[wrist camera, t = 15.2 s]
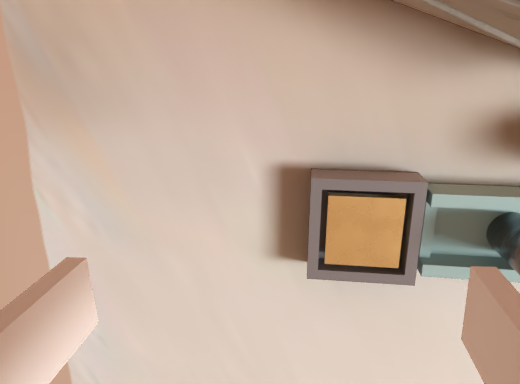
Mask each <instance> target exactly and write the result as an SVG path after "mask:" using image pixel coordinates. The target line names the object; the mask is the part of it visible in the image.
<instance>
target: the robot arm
mask: <svg viewBox="0 0 520 384" xmlns="http://www.w3.org/2000/svg"><path fill="white" fill-rule="evenodd" d="M98 323H99V322H98V317H97V312H96V307H95V301H94V296H93V291H92V285H91V280H90V275H89V270H88V264H87V259H86V258H69V257H67V258H65V259H64V260H63V261H62V262H60V263H59V264H58V265H57V266H55V267H54V268H53V269H52V270H50V271H49V272H48V273H47V274H45V275H44V276H43V277H42V278H40V279H39V280H38V281H37V282H36V283H34V284H33V285H32V286H31V287H29V288H28V289H27V290H25V291H24V292H23V293H22V294H21V295H19V296H18V297H17V298H16V299H14V300H13V301H12V302H10V303H9V304H8V305H7V306H5V307H4V308H3V309H2V310H0V384H49V383H50V382H51V381H52V379H53V378H54V377H55V376H56V374H57V373H58V372H59V371H60V370H61V368H62V367H63V366H64V364H65V363H66V362H67V361H68V360H69V359H70V357H71V356H72V355H73V354H74V352H75V351H76V350H77V349H78V348H79V346H80V345H81V344H82V343H83V341H84V340H85V339H86V338H87V337H88V335H89V334H90V333H91V332H92V330H93V329H94V328H95V327H96V326H97V324H98ZM461 339H462V341H463V343H464V345H465V347H466V349H467V351H468V353H469V355H470V357H471V359H472V361H473V362H474V364H475V366H476V368H477V370H478V372H479V374H480V376H481V378H482V380H483V382H484V384H520V294H519V292H518V291H517V290H516V289H515V288H514V287H513V286H512V284H511V283H510V282H509V281H508V280H507V279H506V278H505V276H504V275H503V274H502V273H501V272H500V271H499V269H498V268H497V267H481V266H471V267H470V275H469V283H468V290H467V298H466V306H465V314H464V322H463V330H462V337H461Z"/></svg>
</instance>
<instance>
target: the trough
mask: <svg viewBox="0 0 520 384" xmlns="http://www.w3.org/2000/svg"><path fill="white" fill-rule="evenodd" d="M509 212H515V213H520V186H493V185H466V184H439V183H428V188H427V196H426V203H425V211H424V218H423V226H422V233H421V241H420V248H419V256H418V263H417V269H418V271H419V273H420V275H421V276H424V277H440V278H456V279H469V275H470V267H471V266H481V267H497V268H498V269H499V271H500V272H501V273H502V274H503V275H504V276H505V278H506V279H507V280H508V281H509V282H520V275H519V274H518V273H517V272H516V271H515V270H514V269H513V268H512V267H511V266H510V265H509V264H508V263H507V262H506V261H505V260H504V259H503V258H502V257H501V256H500V255H499V254H498V253H497V252H496V250H495V249H494V248H493V247H492V246H491V245H490V244H489V243H488V240H487V237H486V232H487V228H488V226H489V224H490V223H491V222H492V220H493V219H495V218H496V217H497V216H499V215H501V214H504V213H509Z"/></svg>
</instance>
